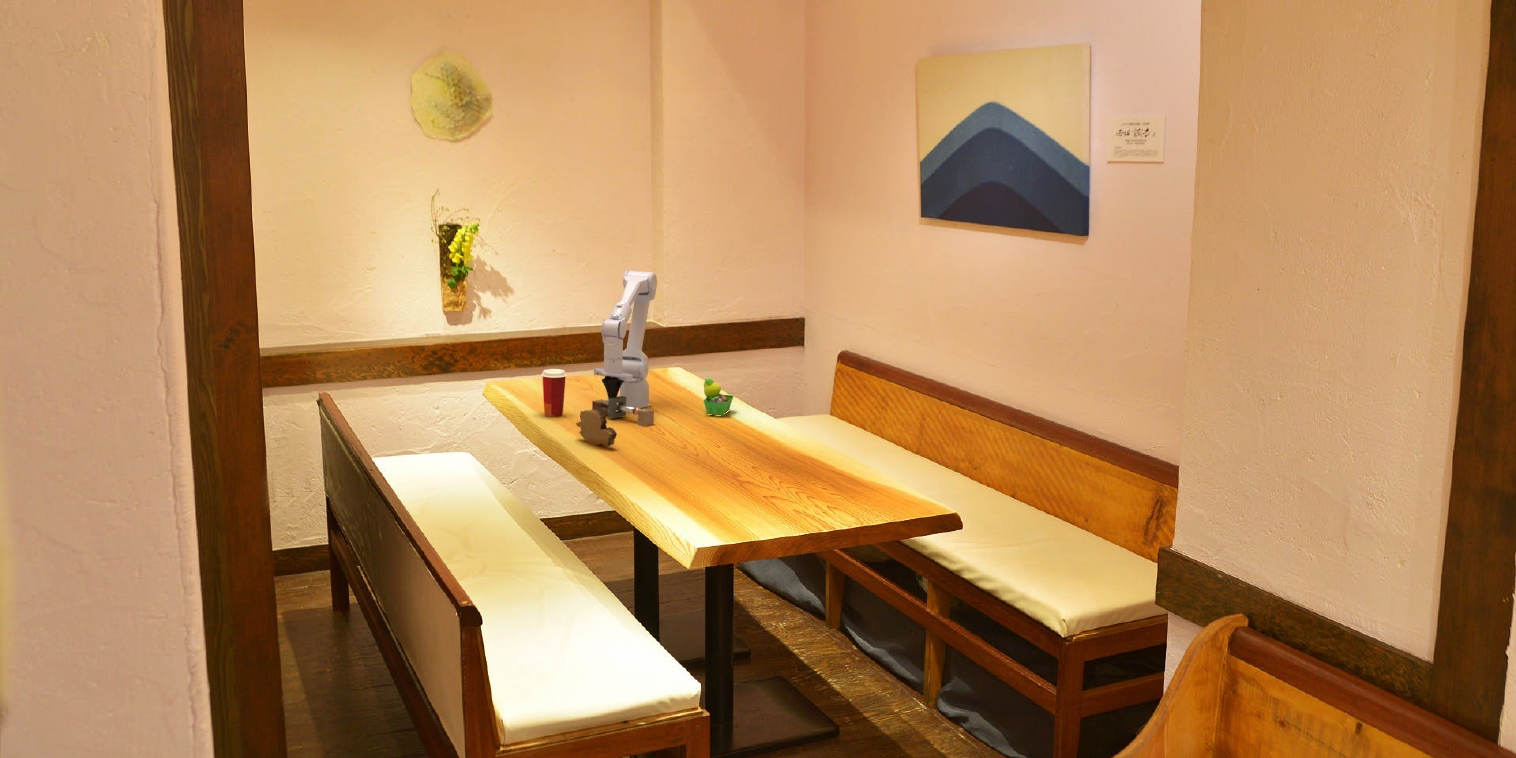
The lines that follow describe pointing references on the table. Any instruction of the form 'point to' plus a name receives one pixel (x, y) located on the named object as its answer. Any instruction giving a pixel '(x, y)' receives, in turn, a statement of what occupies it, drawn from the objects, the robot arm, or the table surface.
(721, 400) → the fruit basket
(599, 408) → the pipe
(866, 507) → the table surface
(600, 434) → the wooden carving
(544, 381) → the paper cup
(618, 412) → the collar
